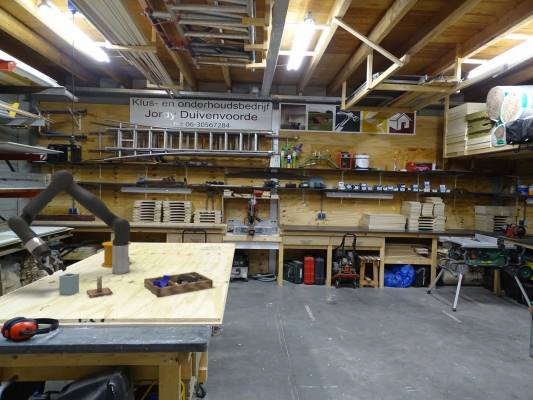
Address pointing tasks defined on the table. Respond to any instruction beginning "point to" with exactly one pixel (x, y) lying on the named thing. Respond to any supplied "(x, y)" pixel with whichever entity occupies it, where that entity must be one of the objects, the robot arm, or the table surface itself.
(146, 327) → the table surface
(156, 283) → the cable clip
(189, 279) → the bicycle component
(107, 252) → the spool
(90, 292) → the pin stand
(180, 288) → the frame
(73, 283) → the collar
